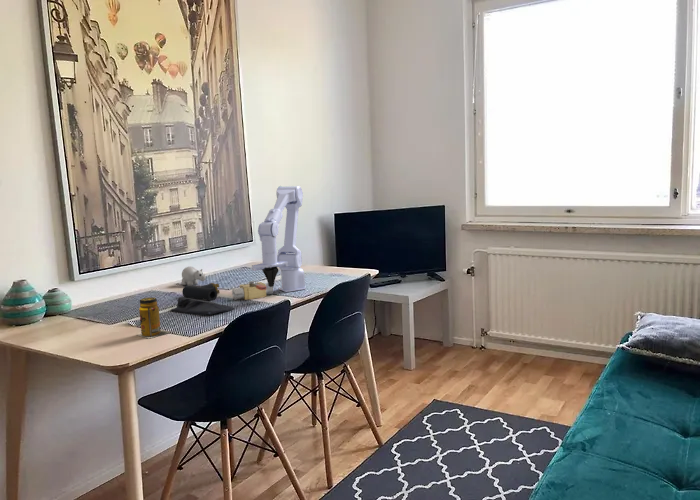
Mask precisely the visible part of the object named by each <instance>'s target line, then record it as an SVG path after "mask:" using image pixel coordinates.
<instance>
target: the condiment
mask: <svg viewBox="0 0 700 500" xmlns="http://www.w3.org/2000/svg"><path fill="white" fill-rule="evenodd" d="M138 310H139V311H138V312H139V320H140V321H139V322H140V332H141V333H139V334H137V336H138V337H141V338H145V339H153V338H157V337H159V336H162V335H166V334H168V333H170V331H167V330H164V329H161V319H160V307H159V306H158V302H157V297H151V296H150V297H143V298H141V299H139V308H138Z"/></svg>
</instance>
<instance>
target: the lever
mask: <svg viewBox="0 0 700 500" xmlns="http://www.w3.org/2000/svg"><path fill="white" fill-rule="evenodd" d="M248 283H249V285H252V286H254V287H256V288H257V289H259V290H266V286H264V285H262V284H258V283H257V281H255V280H251V281H249V282H248Z"/></svg>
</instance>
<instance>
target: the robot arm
mask: <svg viewBox="0 0 700 500" xmlns="http://www.w3.org/2000/svg"><path fill="white" fill-rule="evenodd" d="M275 196H276V200H275V204H274V205H273V208H271V209H270V210H269V211H268V213H267V215H266V216H265V219H264V221H262V222H261V223H260V224H258V229H257V233H258V236H259V240H260V242H261V256H262V257H261V259H262V263H257V264H253V265H251V270H252V271H253V272H254V271H255V272H256V271H261V270H262V273H263V274H264V276H265V278H266V281H267V284H268V285H269V286H270V287H273V288H274V287H275V281H276V278H277V275H278V273H279V270H280V274H281V275H280V277H281V287H278V289H279V290H280V291H283V292H284V293H289V292H295V291H302V290H306V288H307V287H306V283H305V281H306V280H305V271H304V270H303V268H302V267H301V266H302V264H303V258H302V251H301V249H299V248H298V247H297V246H296V245H297V236H298V235H297V234H298V221H299V211H300V209H299V208H301V207H302V205H303V197H304V192H303V189H302V187H301V185H295V186H294V185H289V186H281V185H280V186H278V187H277V188H276V195H275ZM284 209H286V217H285V227H284V240H283V241H284V242H283V246H281V248H279V249H277V236H278V235H279V228H280V226H279V225H280V223H281V221H282V219H283V217H284V216H283V211H284Z"/></svg>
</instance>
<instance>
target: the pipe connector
mask: <svg viewBox="0 0 700 500" xmlns="http://www.w3.org/2000/svg"><path fill="white" fill-rule="evenodd" d="M218 288H220V284H219V283H214V282H210V283H207V284H205V285H201V286H196V285H192V286H189V285H184V287H183V288H182V291H181V292H182V297H183V298H190V299H196V300H202V301H208V300H209V301H208V302H211V301H215V300H216V299H217V297H218V295H219V294H220V289H218Z"/></svg>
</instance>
